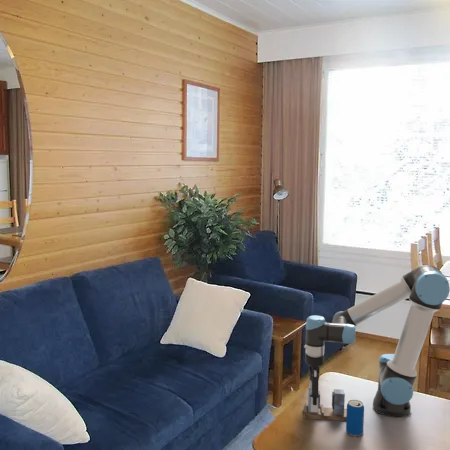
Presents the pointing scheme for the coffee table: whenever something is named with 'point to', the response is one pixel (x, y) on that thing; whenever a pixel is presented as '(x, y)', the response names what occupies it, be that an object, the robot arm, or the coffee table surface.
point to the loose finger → (310, 400)
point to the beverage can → (355, 417)
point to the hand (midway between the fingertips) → (313, 403)
